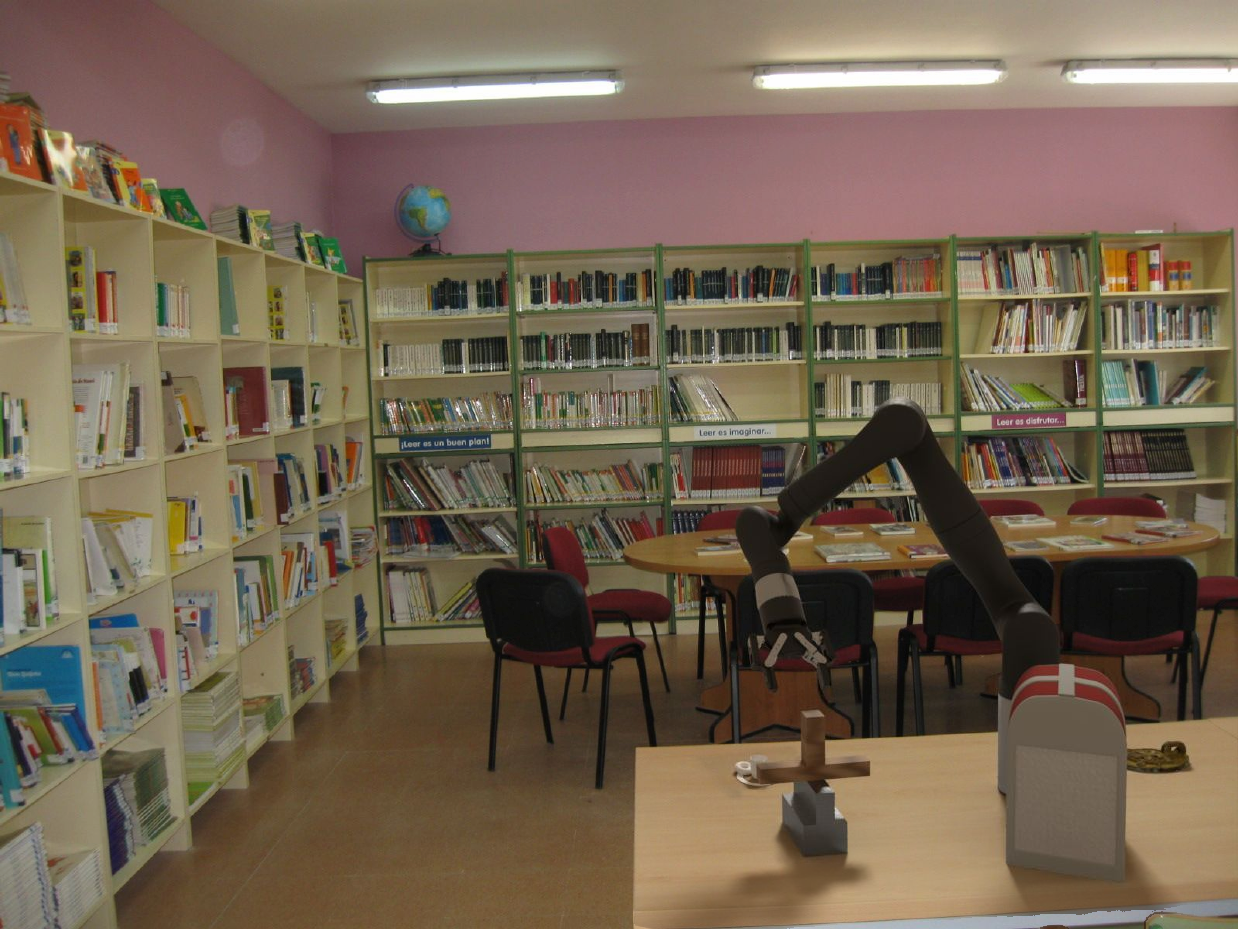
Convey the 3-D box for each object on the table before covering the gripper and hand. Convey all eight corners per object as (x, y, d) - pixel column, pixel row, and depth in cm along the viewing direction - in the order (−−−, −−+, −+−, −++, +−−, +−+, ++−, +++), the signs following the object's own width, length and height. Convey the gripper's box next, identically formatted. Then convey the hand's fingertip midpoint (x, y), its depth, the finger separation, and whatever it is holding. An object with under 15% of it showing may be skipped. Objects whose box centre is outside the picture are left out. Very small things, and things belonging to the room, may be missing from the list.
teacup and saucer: (729, 772, 189) (728, 751, 189) (768, 766, 191) (768, 746, 191) (745, 790, 181) (745, 769, 180) (786, 785, 183) (786, 763, 182)
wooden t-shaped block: (863, 769, 163) (863, 706, 162) (870, 776, 160) (870, 713, 159) (756, 778, 161) (755, 714, 160) (761, 785, 158) (760, 721, 157)
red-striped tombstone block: (1003, 863, 151) (1005, 690, 149) (1010, 815, 167) (1011, 657, 165) (1126, 884, 144) (1130, 702, 142) (1120, 831, 160) (1124, 667, 158)
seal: (1120, 781, 183) (1201, 776, 183) (1122, 757, 182) (1203, 753, 182) (1095, 755, 192) (1172, 751, 192) (1097, 733, 191) (1174, 729, 191)
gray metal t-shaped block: (782, 822, 167) (781, 764, 166) (823, 819, 168) (822, 761, 167) (804, 857, 155) (803, 794, 154) (847, 853, 156) (847, 791, 155)
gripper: (743, 596, 172) (762, 681, 162) (823, 591, 174) (847, 675, 164) (736, 618, 178) (754, 702, 168) (814, 614, 180) (836, 696, 169)
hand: (800, 689), depth 166 cm, fingers open, 8 cm apart
